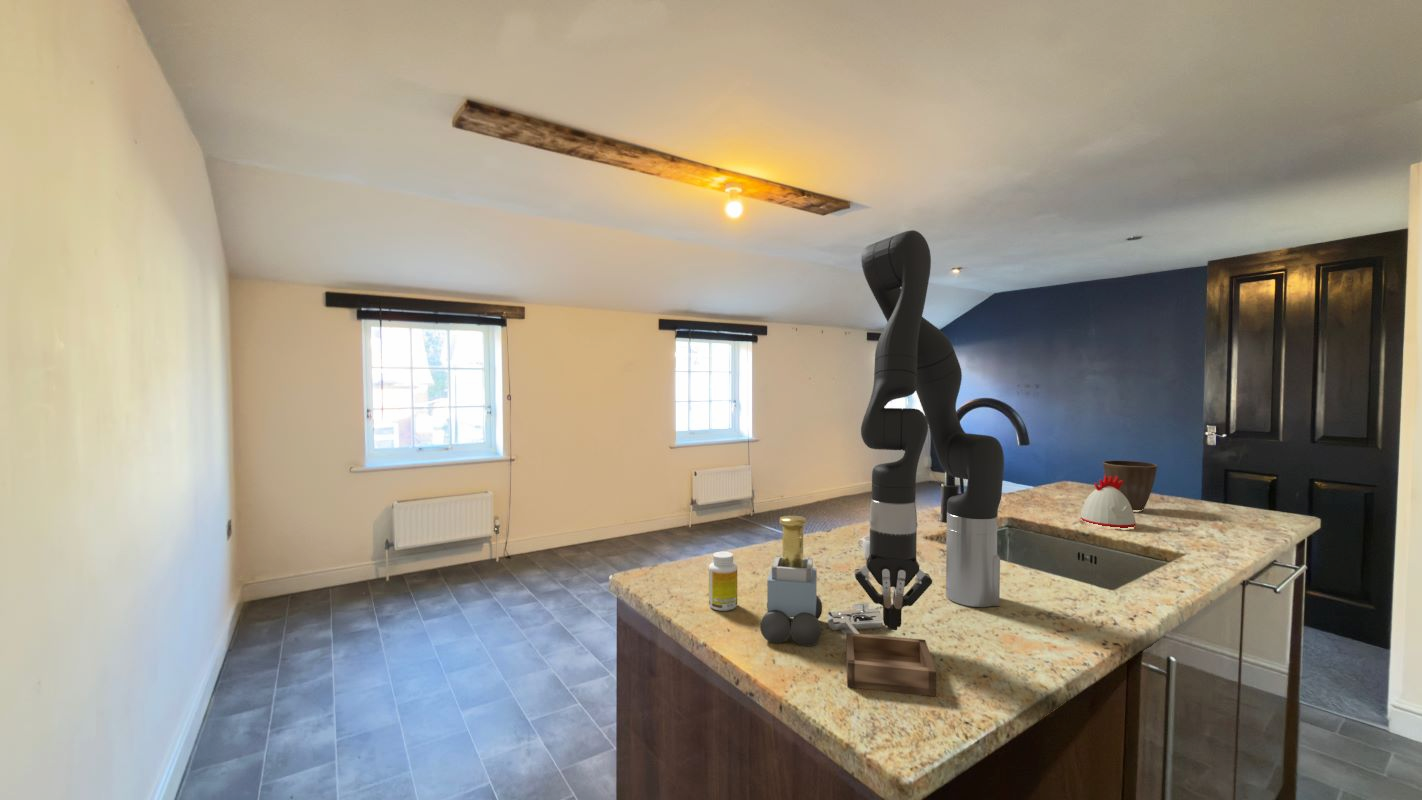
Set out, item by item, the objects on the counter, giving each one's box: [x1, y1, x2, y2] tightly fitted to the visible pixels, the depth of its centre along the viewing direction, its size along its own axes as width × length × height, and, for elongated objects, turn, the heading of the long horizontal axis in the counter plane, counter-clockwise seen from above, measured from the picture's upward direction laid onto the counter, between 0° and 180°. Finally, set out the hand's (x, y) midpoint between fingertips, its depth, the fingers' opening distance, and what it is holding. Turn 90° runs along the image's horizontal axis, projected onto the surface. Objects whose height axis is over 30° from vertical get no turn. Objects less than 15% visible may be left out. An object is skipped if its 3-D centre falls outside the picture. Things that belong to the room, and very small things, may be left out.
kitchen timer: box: [1079, 475, 1137, 528], centre depth 174 cm, size 14×14×15 cm
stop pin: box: [779, 515, 807, 568], centre depth 99 cm, size 5×5×10 cm
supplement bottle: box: [708, 551, 738, 612], centre depth 110 cm, size 6×6×10 cm
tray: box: [845, 633, 937, 697], centre depth 85 cm, size 12×10×4 cm
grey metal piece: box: [827, 601, 884, 637], centre depth 98 cm, size 10×4×9 cm
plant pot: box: [1102, 460, 1158, 510], centre depth 193 cm, size 15×15×16 cm
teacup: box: [857, 534, 870, 560], centre depth 139 cm, size 10×8×5 cm
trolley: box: [759, 555, 823, 647], centre depth 100 cm, size 10×11×12 cm
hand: (891, 628), depth 96 cm, fingers closed
